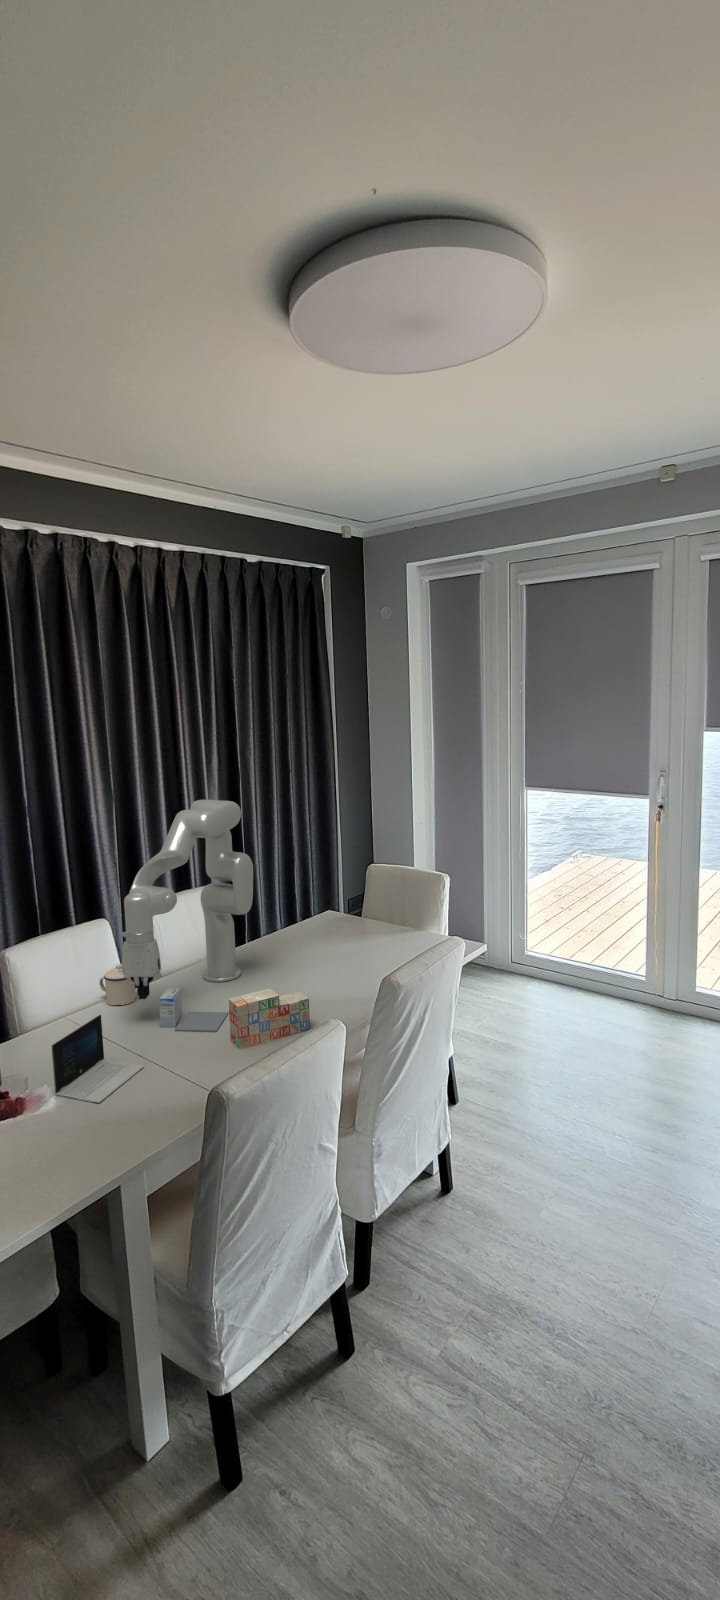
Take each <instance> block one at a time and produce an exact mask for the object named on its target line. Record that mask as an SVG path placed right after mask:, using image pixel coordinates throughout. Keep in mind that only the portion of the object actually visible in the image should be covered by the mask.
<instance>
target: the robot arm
mask: <svg viewBox="0 0 720 1600" xmlns="http://www.w3.org/2000/svg"><path fill="white" fill-rule="evenodd" d="M241 815H242V810H241V808H240V806H239V804H237V803H236V802H235V801H231V800H217V799H198V800H195V801H193V802H192V803H191V804H190V808H189V809H184V810H183V809H182V810H180V811H179V812H178V813H176V814H175V817H174V820H173V822H172V824H171V826H170V828H169V830H168V833H167V836H166V838H165V839H164V843H163V845H162V847H161V850H160V851H159V852H158V853H157V854H155V855H154V856H153V857H151V858H150V859H149V860H148V861H147V862H146V863H145V864H143V866H142V867H141V868H140V869H139V870H138V872H137V873H136V875H135V877H134V879H133V882H132V885H131V887H130V890H129V892H128V894H127V895H126V896H125V897H124V899H123V905H124V918H125V919H124V920H125V922H124V923H125V931H122V932H121V938H122V937H123V938H125V941H124V942H123V945H122V954H121V955H122V956H121V964H122V974H123V975H124V978H127V979H131V980H132V981H133V982H134V983H135V987H136V988H137V990H136V991H137V996H138V1000H146V999H147V998H148V997H149V996H150V990H151V989H150V983H151V982H152V981H154V980H159V979H160V978H161V977H162V973H161V969H162V968H161V967H162V964H161V962H162V961H161V953H160V949H159V945H158V942H157V939H156V938H155V935H154V933H155V932H154V919H153V918H154V916H157V915H163V914H167V913H170V912H171V911H172V910H173V909H174V908H175V907H176V904H177V902H178V897H177V893H176V892H175V891H174V890H173V889H171V888H168V887H162V886H154V885H153V884H154V883H155V881H157V879H158V878H159V877H160V876H161V875H163V874H164V873H166V872H168V871H171V870H173V869H176V868H178V867H179V868H180V866H183V865H185V864H186V863H188V860H189V858H190V856H191V854H192V851H193V849H194V848H193V847H194V846H195V843H196V841H197V839H198V838H200V839H205V872H206V875H207V877H209V878H211V879H213V880H220V881H230V882H232V884H230V883H223V882H222V883H221V882H220V883H219V882H213V883H208V884H206V885H205V886H204V887H203V888H202V890H201V892H200V897H199V898H200V905H201V909H202V912H203V916H204V917H203V918H204V928H205V929H204V930H205V945H206V946H205V949H206V968H207V969H205V970H204V971H203V973H202V978H203V979H204V980H206V981H208V982H213V983H219V982H220V983H223V982H229V981H233V980H236V979H237V978H239V977H240V976H241V974H242V971H241V968H239V967H238V966H237V963H236V962H237V961H236V960H237V959H236V938H235V937H236V936H235V922H234V919H233V916H232V915H235V916H236V915H237V916H241V915H242V916H244V915H246V914H247V913H249V911H251V908H252V905H253V899H254V898H253V896H254V864H253V861H252V859H251V857H250V856H249V855H248V854H247V853H244V852H240V851H239V852H238V851H233V843H232V842H233V841H232V839H233V837H232V833H231V831H230V830H232V829H233V828H234V827H236V826H237V825H238V824H239V822H240V821H241Z"/></svg>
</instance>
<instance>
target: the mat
mask: <svg viewBox="0 0 720 1600" xmlns="http://www.w3.org/2000/svg"><path fill="white" fill-rule="evenodd" d="M227 1016H229V1011H228V1012H227V1011H222V1012H221V1011H189V1010H188V1012H187V1013H186V1014H185V1016H184V1017H183V1018H182V1019H181V1020H180V1022H179V1023H178V1025H176V1027H175V1028H174V1032H192V1033H194V1032H196V1033H197V1032H198V1033H217V1032H218V1030H219V1029H220V1028H221V1026H222V1024H223V1023H224V1021H225V1019H226V1018H227Z"/></svg>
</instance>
